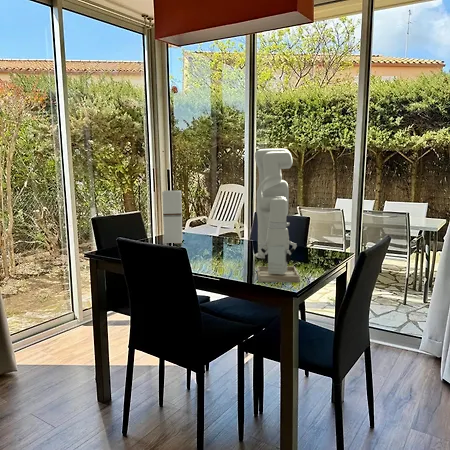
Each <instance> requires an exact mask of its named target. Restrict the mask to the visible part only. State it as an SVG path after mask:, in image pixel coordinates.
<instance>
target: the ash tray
mask: <svg viewBox="0 0 450 450" xmlns="http://www.w3.org/2000/svg"><path fill="white" fill-rule="evenodd" d="M256 268H257V270H256V271H257V279H258V283H300V282H301V276H300V274H299V272H298V269H297V268H296V266H287V271H286V272H285V273H284V274H272V273H268V266H257V267H256Z"/></svg>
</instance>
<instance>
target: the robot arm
mask: <svg viewBox="0 0 450 450" xmlns="http://www.w3.org/2000/svg"><path fill="white" fill-rule="evenodd" d="M254 160H255V164H256V167H257V170H258V184H259V185H258V186H257V190H256V206H255V207H256V210H255V211H256V215H257V252H256V253H255V257H256V258H258V259H263V260H264V262H266V264H268V247H273V246H285V250H286V251H287V264H290V262H291V257H292V256H291V255H292V254H293V253H294V252H295V250H296V248H297V247H298V245H297V243H295V242H292V241H291V240H290V235H289V234H290V233H289V229H288V227H290V224H291V223H290V222H287V216H288V214H289V200H290V199H289V197H290V196H289V195H290V193H289V192H290V191H289V190H290V189H289V188H290V187H289V184H288V182H287V181H286V180H284V179H283V175H282V170H283V169H286V170H287V169H290V168H291V167H292V166H293V157H292V153H291V152H290V151H289V150H288V149H287V148H262V149H257V150H256V151H255V153H254ZM290 246H292V248H290Z"/></svg>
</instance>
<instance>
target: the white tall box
mask: <svg viewBox="0 0 450 450" xmlns="http://www.w3.org/2000/svg"><path fill="white" fill-rule="evenodd" d="M162 214H163V215H162V216H163V217H162V219H163V220H162V221H163V222H162V223H163V244H164V243H174V244H182V241H183V209H182V190H163V191H162ZM182 245H183V244H182Z"/></svg>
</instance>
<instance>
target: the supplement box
mask: <svg viewBox="0 0 450 450" xmlns="http://www.w3.org/2000/svg"><path fill="white" fill-rule="evenodd" d="M287 253H288V252H287V251H286V250H285V246H273V247H268V263H267V267H268V273H272V274H284V273H285V272H286V271H287V267H288V263H287Z"/></svg>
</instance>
